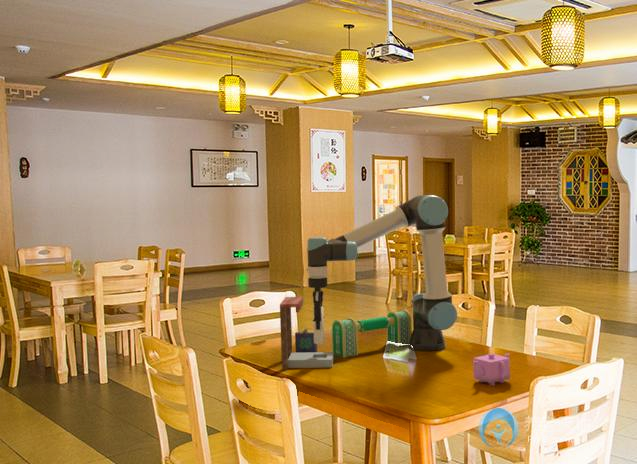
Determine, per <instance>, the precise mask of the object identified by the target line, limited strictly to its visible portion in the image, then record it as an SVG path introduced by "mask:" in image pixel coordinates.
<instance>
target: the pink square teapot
mask: <svg viewBox="0 0 637 464" xmlns="http://www.w3.org/2000/svg"><path fill="white" fill-rule="evenodd" d="M510 354H511V353H505V354H504V355H498V354H495V353H488V354H485V355H479V356H476V357H473V361H472V363H473V379H475V380H477V381H478V382H479V383H488V385H489V386H495V385H496V383H497V382H498V383H500V384H505V383H506V382H505V381H506V380H510V378H511V372H510V371H511V368H510V367H511V365H510V359H511V358H510V357H509V356H510Z"/></svg>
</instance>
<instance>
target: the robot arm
mask: <svg viewBox="0 0 637 464" xmlns="http://www.w3.org/2000/svg"><path fill="white" fill-rule="evenodd" d="M448 215H449V208H448V204H447V203H446V201H445V199H443V198H441V197H440V196H437V195H434V194H428V195H425V194H424V195H417V196H415V197H413V198H411V199H409V200H407V201H405V202H403V203H401V204H399V205H397V206H396V207H395V210H393V211H391V212H388V213H386V214H384V215H382V216H380V217H377V218H375V219H374V220H372V221H369V222H368V223H365V224H363V225H361V226H359V227H357V228H355V229H352V230H351V231H348V232H346V233H344V234H342V235H340V236H337V237H336V238H331V239H329V240H327V238H326V237H324V236H322V237H321V236H316V237H309V238H308V239H307V249H306V250H307V252H306V254H307V268H306V269H305V270H306V271H307V276H308V278H307V282H308V283H307V287H309V288H310V289H312V288H313V289H314V291H312V298H313V299H312V300H313V307H314V320H313V319H312V322H313V321H315V338H322V321H321V307H323V302H324V291H323V290H322V289H323V288H328V278H327V277H328V262H342V261H345V262H350V261H355V260H356V259H358V248H360V247H363V246H365V245H367V244H369V243H371V242H374V241H376V240H378V239H379V238H381V237H384V236H386V235H388V234H390V233H392V232H394V231H397V230H399V229H401V228H403V227H404V228H408V227H411V226H413V225H415V230H416V232H418V233H419V235H420V242H421V253H422V263H423V275H424V286H425V293H424V292H423V293H415V294H414V295H412V325H413V326H412V328H413V329H412V335H411V338H410V345H412V346H413V348H414V349H413V350H417V351H427V352H428V351H440V350H443V349H445V348H446V339H445V337H444V334H443V331H446V330H448V329H450V328H452V327H453V326H454V325H455V324H456V322H457V319H458V312H457V309H456V307H455V305H454V304H453V297H452V293H451V292H449V290H448V285H447V283H448V282H447V275H446V274H447V271H446V263H445V262H446V261H445V249H444V238H443V232H444V230H445V229H446V220H447V218H448ZM410 345H409V346H410Z"/></svg>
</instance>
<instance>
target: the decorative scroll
mask: <svg viewBox="0 0 637 464" xmlns="http://www.w3.org/2000/svg"><path fill="white" fill-rule="evenodd" d="M412 325H413V322H412V315H411V314H410V312H409V311H408V310H406V309H401V310H400V311H397V312H396V311H389V312H388V313H387V315H386V316H382V317H375V318H374V317H373V318H368V319H367V318H366V319H360V320H357V321H356V320H355V319H354V318H352V317H348V318H346V319H345V320H344V319H343V320H340V319H334V320H333V322H332V325H331V340H332V342H331V343H332V345H331V347H332V352H334V356H338V357H341V358H346V357H351V356H359V341H358V340H359V339H358V334H359V333H358V332H360V333H361V332H368V331H369V332H370V331H375V330H376V331H377V330H381V329H386V342H387V341H391V342H395V343H402V344H410V338H411V335H412V332H413V329H412V328H413V326H412Z"/></svg>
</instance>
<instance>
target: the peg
mask: <svg viewBox="0 0 637 464" xmlns="http://www.w3.org/2000/svg"><path fill="white" fill-rule="evenodd" d="M312 315H313V316H312V317H313V319H312V322H313V324H312V326H313V332H314V343H315V344H317V345H322V344H324V343H325V324H324V323H325V322H324V321H325V320H324V319H325V316H324V307H323V306H322V307H321V321H322V338H315V321H313V320H314V306H313V307H312Z"/></svg>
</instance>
